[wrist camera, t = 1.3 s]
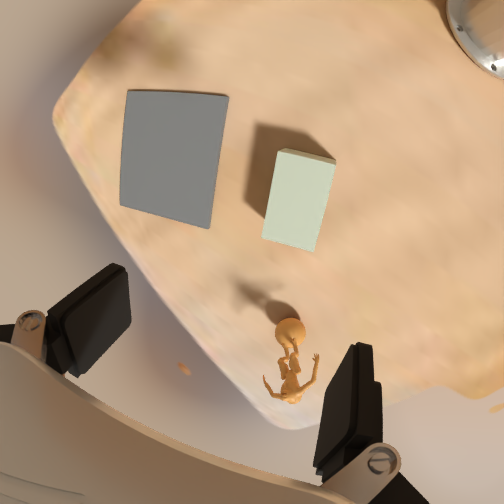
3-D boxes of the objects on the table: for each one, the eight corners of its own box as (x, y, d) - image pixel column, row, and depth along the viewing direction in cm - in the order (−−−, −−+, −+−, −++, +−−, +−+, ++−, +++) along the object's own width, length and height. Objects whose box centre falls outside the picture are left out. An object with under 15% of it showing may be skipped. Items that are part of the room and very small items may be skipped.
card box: (285, 147, 30) (277, 151, 26) (336, 159, 29) (336, 165, 25) (270, 223, 34) (261, 237, 30) (316, 236, 33) (313, 252, 29)
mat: (130, 91, 31) (127, 91, 31) (229, 97, 29) (227, 96, 28) (122, 204, 39) (119, 205, 38) (209, 227, 36) (207, 229, 36)
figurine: (309, 299, 36) (293, 367, 26) (334, 330, 37) (327, 400, 27) (261, 325, 40) (233, 389, 30) (286, 353, 41) (267, 418, 31)
